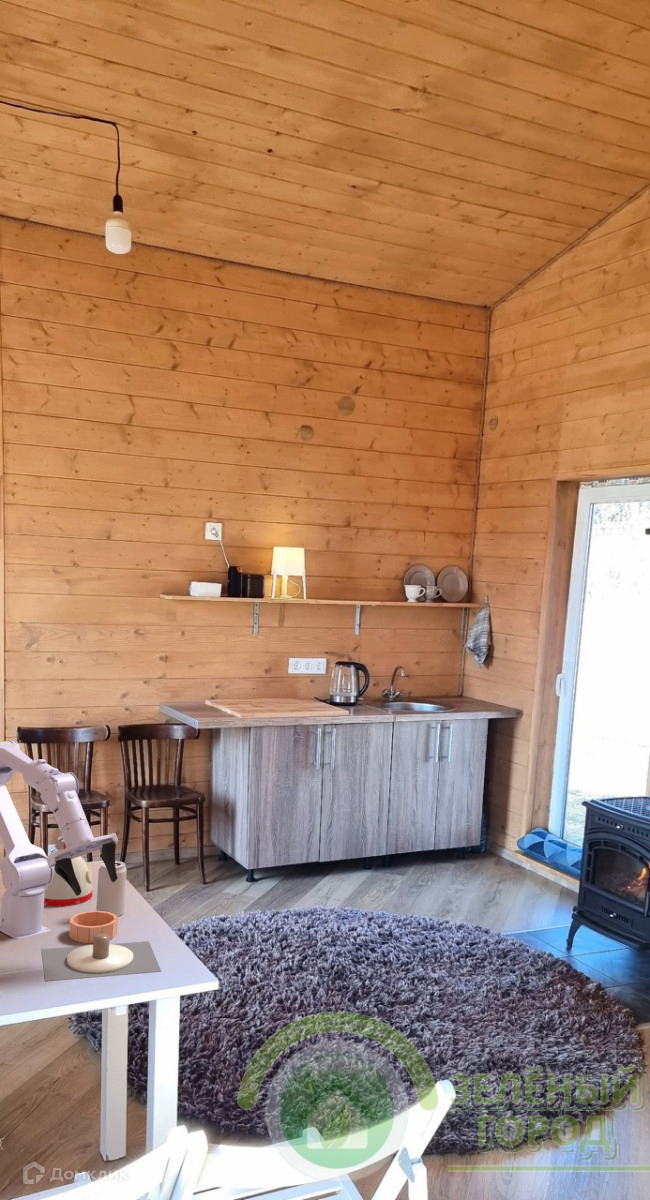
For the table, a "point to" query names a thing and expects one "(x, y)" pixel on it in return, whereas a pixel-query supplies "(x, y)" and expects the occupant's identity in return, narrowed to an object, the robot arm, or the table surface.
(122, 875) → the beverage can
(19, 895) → the robot arm
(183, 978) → the table surface
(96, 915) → the bowl
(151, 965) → the mat
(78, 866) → the kitchen timer
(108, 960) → the lid
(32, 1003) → the table surface
